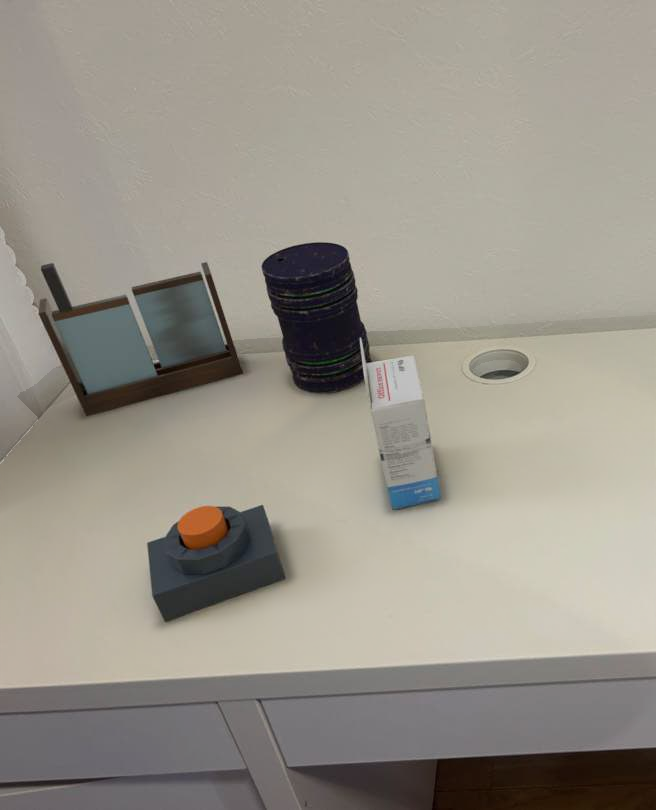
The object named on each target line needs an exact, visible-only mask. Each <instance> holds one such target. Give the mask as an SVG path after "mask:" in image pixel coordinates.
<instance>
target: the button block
mask: <svg viewBox="0 0 656 810" xmlns="http://www.w3.org/2000/svg"><path fill="white" fill-rule="evenodd" d="M216 507H217V508H219V509H220V510H221V511H222V514H223V517H224V519H225V522H226V524H227V527H228V532H227V534H226V536H225V537H224V538H223V539H222V540H220V541H219V542H218V543H216V544H215V545H212V546H209V547H206V548H203V549H189V548H187V547H186V546H185V544H184V542H183V540H182V537H181V535H180V533H179V531H178V522H179V520H178V521H176V522H175V523H174V524H172V526H171V528H170V529H169V530H168V531H167V533H166V535H165V536H164V537H161V538H157V539H154V540H152V541H148V542H147V543H146V546H147V556H148V567H149V577H150V585H151V587H150V588H151V596H152V598H153V600H154V603H155V605H156V606H157V609H158V611H159V613H160V615H161V617H162V619H163V621H164V622H165V623H167V622H169V621H173V620H176V619H179V618H180V617H183V616H186V615H189V614H192V613H194V612H197V611H201V610H202V609H203V610H204V609H205V608H208V607H211V606H214V605H217V604H219V603H222V602H224V601H227V600H231V599H233V598H235V597H239V596H241V595H244V594H247V593H250V592H252V591H255V590H259V589H262V588H263V587H267V586H269V585H272V584H275V583H277V582H280V581H283V580H286V579H287V578H286V573H285V570H284V567H283V563H282V560H281V557H280V553H279V550H278V547H277V543H276V539H275V536H274V533H273V530H272V526H271V524H270V521H269V518H268V515H267V512H266V509H265V506H264V504H261V505H257V506H254V507H251V508H248V509H245V510H243V511H239V510H237V509H235V508H234V507H231V506H216Z"/></svg>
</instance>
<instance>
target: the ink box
mask: <svg viewBox="0 0 656 810" xmlns="http://www.w3.org/2000/svg"><path fill="white" fill-rule="evenodd" d="M360 347H361V355H362V363H363V372H364V378H365V379H364V384H365V390H366V395H367V400H368V401H367V402H368V406H369V412H370V417H371V421H372V425H373V430H374V434H375V438H376V444H377V447H378V452H379V456H380V461H381V466H382V471H383V476H384V481H385V484H386V487H387V493H388V497H389V503H390V507H391V509H392V510H397V509H403V508H406V507H410V506H411V507H412V506H415V505H421V504H425V503H429V502H433V501H434V502H435V501H439V500H440V499H441V493H440V486H439V480H438V474H437V467H436V461H435V455H434V450H433V444H432V436H431V432H430V431H431V430H430V425H429V420H428V414H427V408H426V402H425V397H424V392H423V388H422V383H421V378H420V375H419V370H418V366H417V362H416V359H415V356H414V355H407V356H401V357H396V358H390V359H384V360H379V361H372V363H367V364H366V360H365V355H364V349H363V344H362V339H361V337H360Z"/></svg>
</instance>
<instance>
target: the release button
mask: <svg viewBox="0 0 656 810" xmlns="http://www.w3.org/2000/svg"><path fill="white" fill-rule="evenodd" d="M217 507H218V506H214V505H203V506H198V507H195V508H193V509H191V510H189V511H187V512H186V513H185V514H183V516H181V518H179V520H178V521H179V522H178V521H177V522H178V531H179V533H180V535H181V537H182V540H183V542H184V544H185V546H186V547H187V548H189V549H203V548H206V547H209V546H212V545H215V544H216V543H218V542H219V541H220V540H222V539H223V538H224V537H225V536H226V534H227V532H228V527H227V524H226V522H225V519H224V517H223V514H222V511H221V510H220V509H219V508H217Z"/></svg>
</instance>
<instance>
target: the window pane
mask: <svg viewBox="0 0 656 810" xmlns="http://www.w3.org/2000/svg"><path fill="white" fill-rule="evenodd" d="M40 271H41V274H42V276H43V278H44V280H45V282H46V285H47V287H48V289H49V291H50V293H51V296H52V298H53V300H54V302H55V305H56V307H57V309H56V310H52V314H51V315H52V317H53V320H54V322H55V324H56V326H57V328H58V330H59V332H60V335H61V337H62V339H63V341H64V343H65V346H66V348H67V350H68V352H69V354H70V356H71V359H72V361H73V363H74V365H75V367H76V370H77V372H78V374H79V376H80V378H81V380H82V383H83V385H84V387H85V389H86V391H87V394H91V393H95V392H99V391H103V390H106V389H110V388H114V387H118V386H122V385H125V384H129V383H133V382H137V381H140V380H144V379H148V378H152V377H155V376H158V374H157V371H156V369H155V366H154V364H153V363H154V362H153V359H152V356H151V354H150V351H149V348H148V346H147V344H146V341H145V339H144V336H143V334H142V331H141V328H140V326H139V323H138V320H137V318H136V315H135V313H134V310H133V308H132V306H131V303H130V299H129V298H128V295H127V294H122V295H118V296H113V297H109V298H105V299H100V300H96V301H91V302H87V303H83V304H77V305H73V304H72V303H71V300H70V298H69V296H68V294H67V291H66V288H65V286H64V285H63V282H62V280H61V278H60V276H59V274H58V271H57V268H56V266H55V264H54V263H53V262H51V263H47V264H42V265H41V266H40Z"/></svg>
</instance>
